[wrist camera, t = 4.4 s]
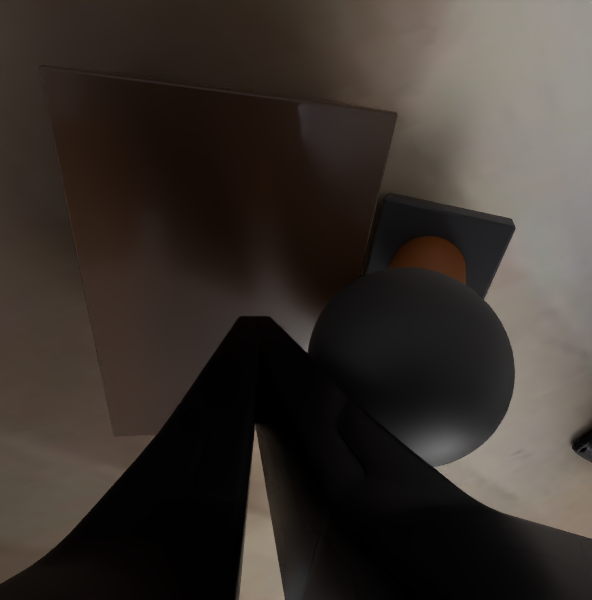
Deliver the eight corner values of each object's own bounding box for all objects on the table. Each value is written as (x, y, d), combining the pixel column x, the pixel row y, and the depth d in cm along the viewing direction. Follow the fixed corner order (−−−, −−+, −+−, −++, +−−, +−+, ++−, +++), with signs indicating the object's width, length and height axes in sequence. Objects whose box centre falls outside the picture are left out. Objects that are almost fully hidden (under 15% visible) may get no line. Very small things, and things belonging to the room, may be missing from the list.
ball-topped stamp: (469, 198, 15) (775, 337, 7) (435, 292, 17) (635, 480, 9) (271, 182, 13) (373, 349, 5) (261, 290, 15) (320, 528, 7)
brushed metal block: (340, 102, 12) (398, 112, 8) (302, 342, 17) (325, 428, 13) (114, 72, 11) (36, 64, 6) (145, 341, 16) (113, 437, 11)
